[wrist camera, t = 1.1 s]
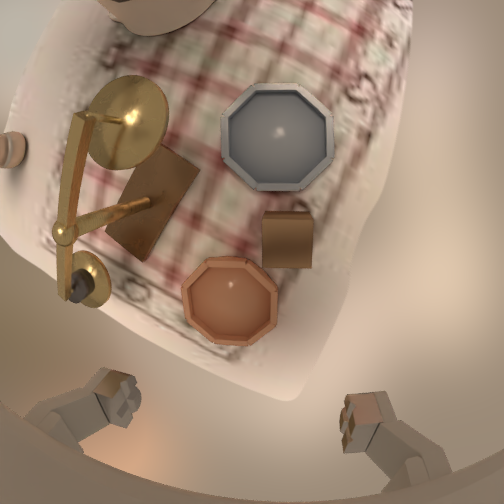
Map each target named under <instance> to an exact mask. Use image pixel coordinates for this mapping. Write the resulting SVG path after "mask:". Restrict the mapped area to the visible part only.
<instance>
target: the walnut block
mask: <svg viewBox="0 0 504 504" xmlns="http://www.w3.org/2000/svg"><path fill="white" fill-rule="evenodd" d="M312 247H313V218H312V216H311V214H310V212H300V211H265V213H264V216H263V218H262V268H311V266H312Z"/></svg>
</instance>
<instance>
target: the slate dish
mask: <svg viewBox="0 0 504 504" xmlns="http://www.w3.org/2000/svg"><path fill="white" fill-rule="evenodd" d="M331 114H332V113H331V112H330V111H329V110H328V109H327V108H326V107H325V106H324V105H323V104H322V103H321V102H320V101H319V100H317V99H316V98H315V97H314V96H313V95H312V94H311V93H310V92H309V91H308V90H306V89H305V88H304V87H303V86H302V85H301V84H300V85H299V86H298V84H297V83H260V84H254V87H253V86H252V85H251V86H250V87H249V88H248V89H247V90H246V91H244V92H243V93H242V94H241V95H240V96H239V97H238V98H237V99H236V100H235V101H234V102H233V103H232V104H231V105H230V106H229V107H228V108H227V109H226V110H225V111H224V112H223V113H222V115H223V116H225V117H221V158H225V159H224V160H223V161H224V162H225V163H226V164H227V165H228V166H229V167H230V168H231V169H232V170H233V171H234V172H235V173H237V174H238V175H239V176H240V177H241V178H242V179H243V180H244V181H245V182H246V183H247V184H248V185H249V186H250V187H251V188H252V189H253V190H254V189H255V188H256V189H257V191H300V188H301V189H302V190H303V189H304V188H305V187H306V186H307V185H308V184H310V183H311V182H312V181H313V180H314V179H315V178H316V177H317V176H318V175H319V174H320V173H321V172H322V171H323V170H324V169H325V168H326V167H327V166H328V165H329V164H330V163H331V162H332V161H333V160H332V159H331V158H334V118H333V116H330V115H331Z"/></svg>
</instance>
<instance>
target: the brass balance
mask: <svg viewBox="0 0 504 504" xmlns="http://www.w3.org/2000/svg"><path fill="white" fill-rule="evenodd" d="M168 122H169V107H168V102H167V99H166V96H165V94H164V93H163V91H162V90H161V88H160V87H159V86H158V85H157V84H155V83H154V82H152V81H150V80H149V79H147V78H144V77H142V76H137V75H128V76H123V77H120V78H117V79H115V80H113V81H111V82H110V83H108V84H107V85H106V86H105V87H103V88H102V89H101V90H100V92H99V93H98V94H97V95H96V96H95V98H94V99H93V101H92V103H91V105H90V107H89V109H88V111H86V110H85V111H81V112H77V113H74V114H73V118H72V122H71V126H70V131H69V135H68V140H67V145H66V150H65V156H64V162H63V169H62V176H61V184H60V193H59V203H58V217H57V221H56V222H55V223H54V225H53V228H52V236H53V239H54V241H55V242H56V243H57V250H56V252H57V285H58V295H59V296H60V297H61V298H62V299H63V300H64V301H67V300H68V299H69V300H70V301H71V302H73V303H79V302H81V303H82V304H84V305H85V306H88V307H91V308H98V307H100V306H102V305H103V304H104V303H105V302H107V301H108V299H109V297H110V295H111V288H112V287H111V280H110V276H109V273H108V271H107V269H106V267H105V265H104V264H103V263H102V261H101V260H100V259H99V258H98V257H97V256H96V255H94V254H93V253H91V252H89V251H84V250H82V251H78V252H76V253H74V254H72V253H73V244H74V243H75V242H76V240H77V238H78V237H79V236H81V235H83V234H86V233H88V232H90V231H93V230H95V229H98V228H100V227H102V226H105V225H107V224H108V225H107V227H106V230H105V232H106V233H107V234H108V235H109V236H110V237H112V238H113V239H114V240H115V241H116V242H118V243H119V244H120V245H121V246H123V247H124V248H125V249H126V250H127V251H129V252H130V253H131V254H132V255H134V256H135V257H136V258H137V259H139V260H140V261H141V262H143V261H145V260H146V259H147V257H148V255H149V254H150V252H151V250H152V248H153V246H154V245H155V243H156V241H157V239H158V238H159V236H160V234H161V232H162V231H163V229H164V227H165V226H166V224H167V222H168V220H169V219H170V217H171V215H172V214H173V212H174V210H175V209H176V207H177V206H178V204H179V202H180V201H181V199H182V197H183V196H184V194H185V193H186V191H187V190H188V188H189V186H190V185H191V183H192V182H193V180H194V179H195V177H196V176H197V174H198V173H199V171H200V169H198V168H197V167H195V166H194V165H192V164H191V163H190V162H188V161H187V160H185V159H184V158H182V157H181V156H179V155H178V154H176V153H175V152H174V151H172V150H171V149H169V148H168V147H166V146H165V145H163V144H162V143H161V142H162V141H163V139H164V136H165V134H166V130H167V127H168ZM88 152H89V154H90V156H91V157H92V158H93V160H94V161H95V162H96V163H97V164H99V165H100V166H102V167H104V168H106V169H110V170H124V169H130V168H134V167H136V168H135V170H134V172H133V174H132V176H131V177H130V179H129V181H128V183H127V185H126V187H125V189H124V191H123V193H122V195H121V197H120V199H119V201H118V203H117V204H116V205H113V206H110V207H107V208H103V209H100V210H97V211H94V212H91V213H88V214H85V215H82V216H79V217H76V213H77V206H78V199H79V193H80V187H81V182H82V176H83V171H84V167H85V162H86V157H87V153H88Z"/></svg>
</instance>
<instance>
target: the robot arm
mask: <svg viewBox="0 0 504 504" xmlns="http://www.w3.org/2000/svg"><path fill="white" fill-rule="evenodd" d="M97 1H98V2H99V3H100V4H101V5H102V6H103V7H105V8H106V9H107V10H108V11H109V15H108V16H109V17H110V18H111V19H112V20H113V21H117V22H121V23H123V24H124V25H125V27H126V28H127V29H128V30H129V31H131V32H132V33H134V34H137V35H142V36H154V35H160V34H164V33H168V32H171V31H173V30H176V29H178V28H180V27H182V26H184V25H186V24H188V23H190V22H191V21H193V20H194V19H196V18H197V17H198V16H200V15H201V14H202V13H203V12H204V11H205V10H206V9H207V8H208V7H209V6H210V5H211V4H212V3H213V2H214V1H215V0H97ZM136 383H137V381H136V378H135V376H133V375H130V374H126V373H123V372H119V371H116V370H112V369H108V368H105V367H103V368H100V369H99V371H98V372H97V373H96V374H95V375H94V376H93V377H92V378H91V380H90V381H89V382H88V383H87V384H86V385H85V386H84V387H83V388H77V389H75V390H72V391H69V392H67V393H64V394H61V395H58V396H55V397H52V398H49V399H46V400H43V401H40V402H38V403H37V404H36V405H35V406H34V407H33V408H32V409H31V411H29V413H28V414H27V415H26V416H25V417H24V418H22V417H21V416H19V415H18V414H16V413H15V412H14V411H12V410H11V409H10V408H8V407H7V406H6V405H5V404H3V403H2V402H1V401H0V504H504V449H502V450H500V451H499V452H497V453H495V454H493V455H491V456H489V457H487V458H485V459H483V460H481V461H479V462H476V463H474V464H472V465H470V466H468V467H465V468H463V469H460V470H458V471H455V472H453V473H452V470H451V467H450V465H449V462H448V460H447V457H446V455H445V452H444V450H443V448H442V447H440V446H439V445H437V444H435V443H434V442H432V441H431V440H429V439H428V438H426V437H425V436H423V435H422V434H420V433H419V432H418V431H416V430H414V429H413V428H412V427H410V426H409V425H407V424H406V423H404V422H403V421H401V420H397V418H396V416H395V413H394V410H393V408H392V405H391V403H390V400H389V397H388V395H387V393H386V391H379V392H370V393H359V394H347V395H346V397H345V400H344V404H345V407H344V408H343V409H342V410H341V414H340V421H339V423H340V432H342V433H343V434H344V435H343V438H342V446H343V453H357V452H365V453H366V454H367V455H368V456H369V457H370V458H371V459H372V461H373V462H374V463H375V464H376V465H377V466H378V467H379V468H380V469H381V470H382V471H383V472H384V473H385V474H386V475H387V476H388V477H389V478H390V479H391V480H390V482H389V483H388V484H387V485H386V486H385V487H384V489H383V490H382V491H381V493H380V494H375V495H369V496H363V497H356V498H348V499H339V500H329V501H312V502H271V501H254V500H244V499H235V498H228V497H221V496H214V495H208V494H202V493H198V492H193V491H189V490H184V489H180V488H176V487H172V486H168V485H164V484H161V483H157V482H154V481H151V480H148V479H144V478H141V477H138V476H136V475H133V474H130V473H127V472H125V471H122V470H119V469H117V468H114V467H112V466H109V465H107V464H105V463H102V462H100V461H97V460H96V459H93V458H91V457H89V456H87V455H85V454H83V453H84V451H83V449H82V448H81V446H80V445H79V444H78V442H80V441H81V440H83V439H85V438H87V437H88V436H90V435H92V434H94V433H95V432H97V431H99V430H100V429H102V428H104V427H106V426H107V425H109V423H111V424H114V425H117V426H120V427H123V428H127V427H128V425H129V424H130V422H131V420H132V419H133V416H132V413H133V412H136V411H137V410H138V408H139V407H140V404H141V393H140V390H139V389H138V388H137V387H136V386H135V385H136Z"/></svg>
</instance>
